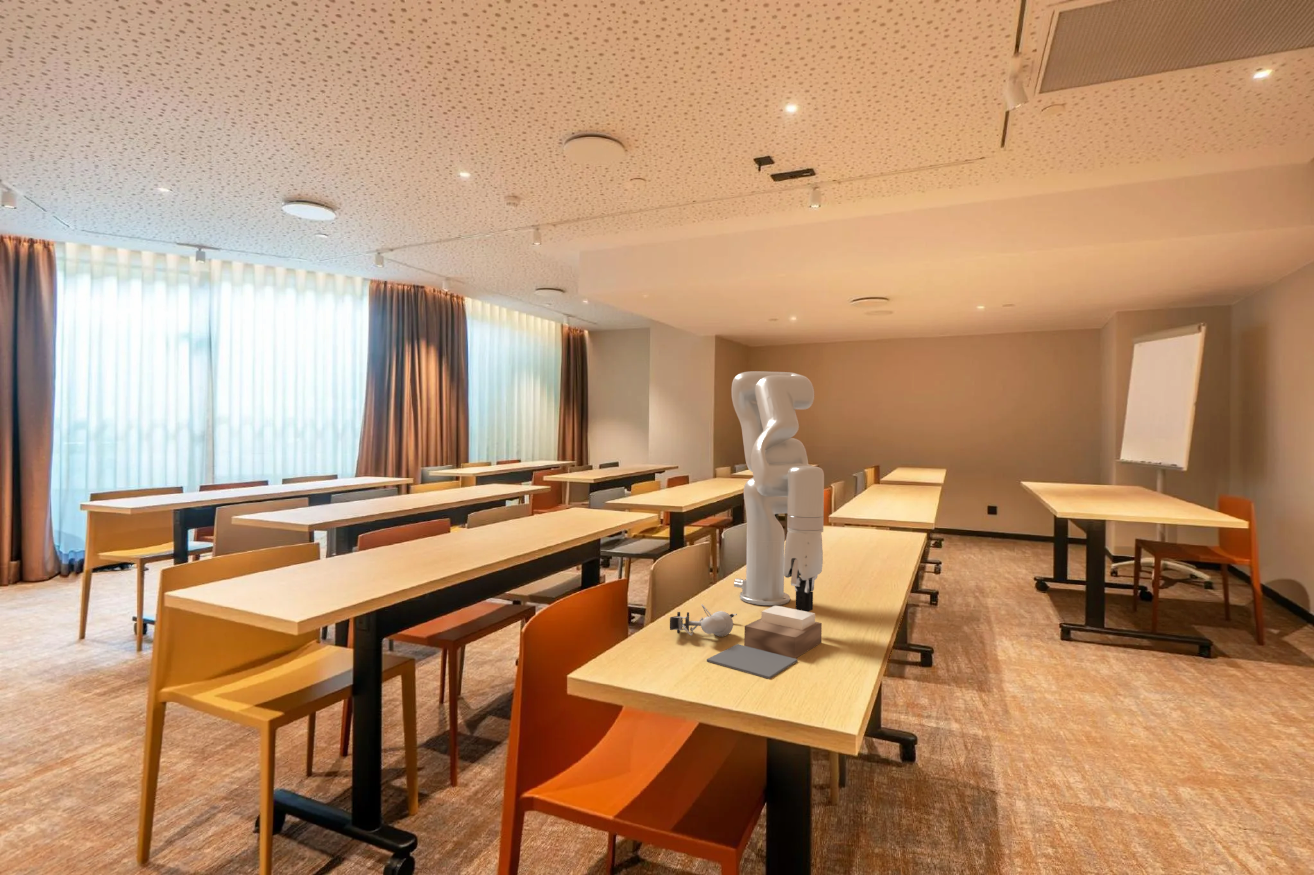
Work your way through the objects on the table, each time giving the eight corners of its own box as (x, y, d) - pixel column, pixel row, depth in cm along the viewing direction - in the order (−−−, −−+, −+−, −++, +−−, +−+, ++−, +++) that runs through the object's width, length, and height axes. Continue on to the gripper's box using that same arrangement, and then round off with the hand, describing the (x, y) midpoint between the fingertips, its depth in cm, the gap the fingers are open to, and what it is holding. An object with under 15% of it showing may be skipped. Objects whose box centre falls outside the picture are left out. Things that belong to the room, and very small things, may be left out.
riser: (744, 645, 125) (744, 625, 125) (772, 631, 135) (773, 612, 135) (795, 658, 118) (795, 637, 118) (821, 642, 128) (821, 623, 128)
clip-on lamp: (696, 632, 143) (664, 636, 128) (697, 603, 145) (664, 604, 129) (746, 634, 139) (718, 639, 123) (746, 604, 140) (718, 606, 124)
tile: (761, 621, 129) (761, 611, 129) (775, 614, 133) (775, 605, 133) (802, 630, 123) (802, 620, 123) (814, 623, 128) (815, 613, 128)
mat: (706, 661, 116) (706, 659, 116) (737, 646, 125) (737, 644, 125) (769, 679, 108) (769, 676, 108) (797, 661, 117) (797, 659, 117)
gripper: (803, 519, 142) (802, 600, 142) (772, 526, 130) (771, 614, 130) (835, 522, 137) (834, 605, 137) (806, 529, 126) (805, 621, 126)
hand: (804, 609), depth 134 cm, fingers closed
